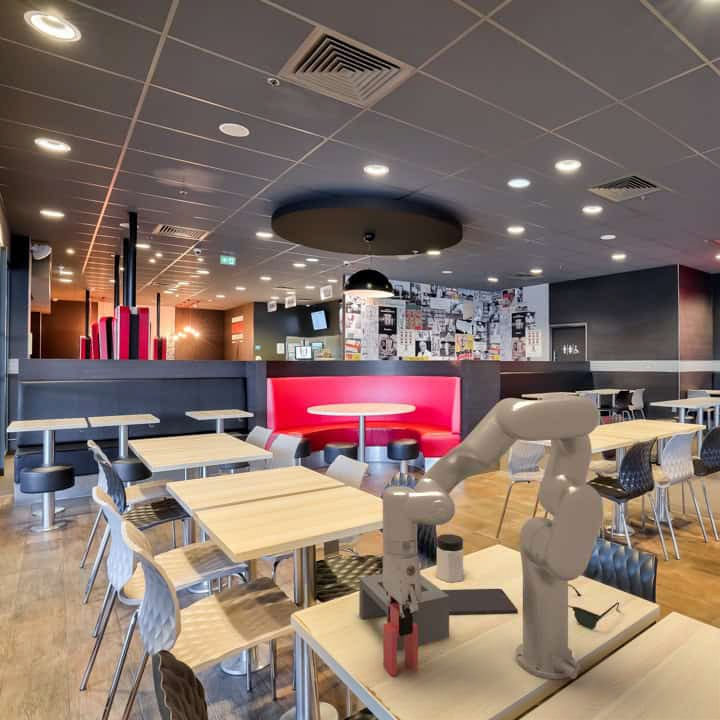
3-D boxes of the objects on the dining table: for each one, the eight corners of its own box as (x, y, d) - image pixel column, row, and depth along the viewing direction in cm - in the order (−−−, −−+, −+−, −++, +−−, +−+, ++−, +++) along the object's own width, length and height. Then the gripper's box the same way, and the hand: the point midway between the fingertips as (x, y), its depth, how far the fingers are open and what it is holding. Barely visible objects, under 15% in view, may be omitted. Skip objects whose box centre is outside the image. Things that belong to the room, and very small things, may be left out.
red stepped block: (418, 668, 106) (417, 607, 106) (391, 676, 104) (391, 613, 104) (409, 658, 110) (408, 599, 110) (383, 665, 107) (383, 605, 107)
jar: (457, 570, 159) (457, 532, 159) (468, 580, 151) (468, 541, 151) (431, 572, 156) (431, 535, 157) (442, 583, 149) (442, 544, 149)
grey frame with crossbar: (449, 637, 119) (449, 595, 119) (390, 652, 113) (390, 608, 113) (412, 604, 135) (412, 568, 136) (359, 616, 129) (359, 577, 129)
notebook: (439, 617, 129) (517, 615, 131) (439, 611, 129) (517, 609, 131) (429, 595, 142) (501, 593, 143) (429, 590, 142) (501, 588, 143)
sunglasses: (629, 615, 131) (629, 596, 131) (599, 636, 120) (599, 616, 120) (570, 592, 144) (570, 575, 144) (538, 610, 133) (538, 592, 133)
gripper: (435, 555, 101) (435, 644, 101) (397, 530, 116) (397, 608, 116) (403, 561, 98) (404, 653, 98) (368, 535, 113) (368, 614, 113)
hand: (400, 627), depth 107 cm, fingers closed on red stepped block, 4 cm apart
